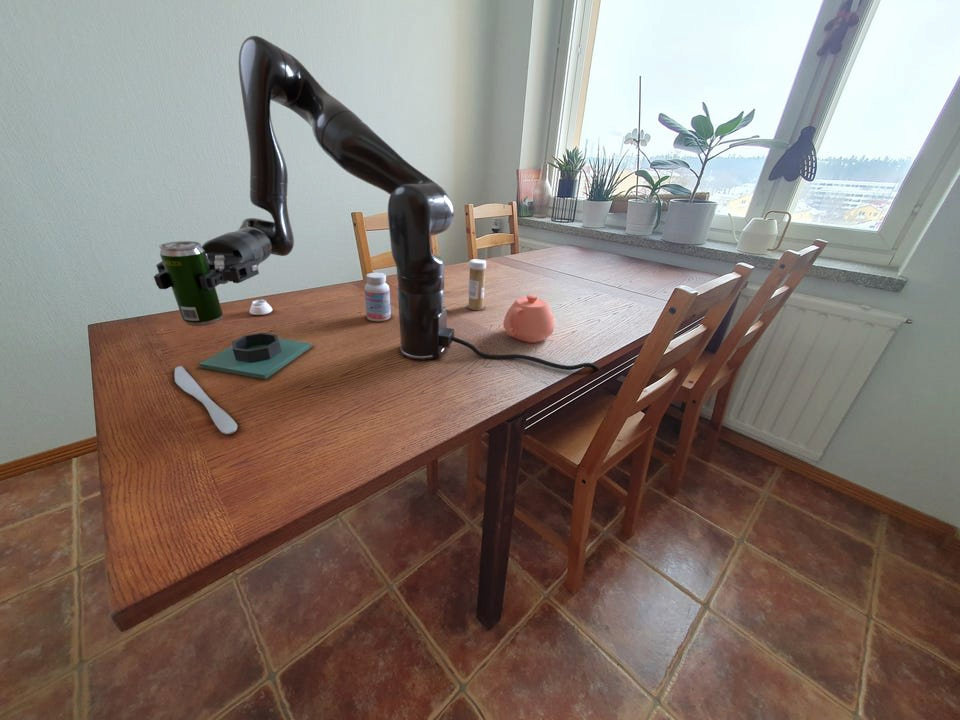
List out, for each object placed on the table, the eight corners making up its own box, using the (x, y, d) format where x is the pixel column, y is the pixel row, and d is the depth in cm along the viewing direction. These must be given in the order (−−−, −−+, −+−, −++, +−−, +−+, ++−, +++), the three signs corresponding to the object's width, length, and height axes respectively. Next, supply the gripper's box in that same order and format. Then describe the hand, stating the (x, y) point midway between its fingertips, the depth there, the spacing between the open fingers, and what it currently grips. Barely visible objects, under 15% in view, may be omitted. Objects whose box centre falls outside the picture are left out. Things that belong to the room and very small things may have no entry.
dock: (311, 347, 80) (309, 332, 79) (265, 379, 68) (261, 363, 67) (254, 338, 83) (251, 323, 81) (200, 368, 71) (194, 351, 69)
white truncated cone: (246, 315, 93) (266, 316, 93) (243, 304, 92) (263, 305, 92) (257, 308, 98) (276, 309, 98) (254, 297, 96) (273, 299, 96)
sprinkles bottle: (486, 309, 106) (489, 261, 100) (473, 311, 104) (475, 263, 98) (477, 304, 110) (480, 258, 103) (464, 306, 107) (466, 259, 101)
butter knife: (217, 436, 53) (239, 426, 55) (166, 370, 69) (185, 363, 71) (218, 440, 54) (241, 429, 56) (167, 372, 69) (186, 366, 71)
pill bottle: (362, 319, 95) (357, 276, 90) (376, 311, 100) (373, 270, 95) (382, 323, 93) (378, 279, 88) (395, 316, 98) (393, 273, 93)
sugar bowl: (561, 336, 92) (568, 297, 87) (528, 353, 83) (533, 310, 78) (522, 321, 99) (526, 284, 95) (487, 336, 90) (490, 295, 85)
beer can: (215, 326, 59) (191, 249, 53) (177, 327, 58) (148, 248, 52) (229, 313, 63) (209, 241, 57) (194, 313, 62) (170, 240, 57)
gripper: (185, 232, 67) (116, 256, 52) (270, 236, 69) (227, 259, 54) (198, 273, 70) (137, 306, 56) (278, 276, 72) (240, 308, 58)
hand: (181, 283), depth 55 cm, fingers closed on beer can, 5 cm apart
